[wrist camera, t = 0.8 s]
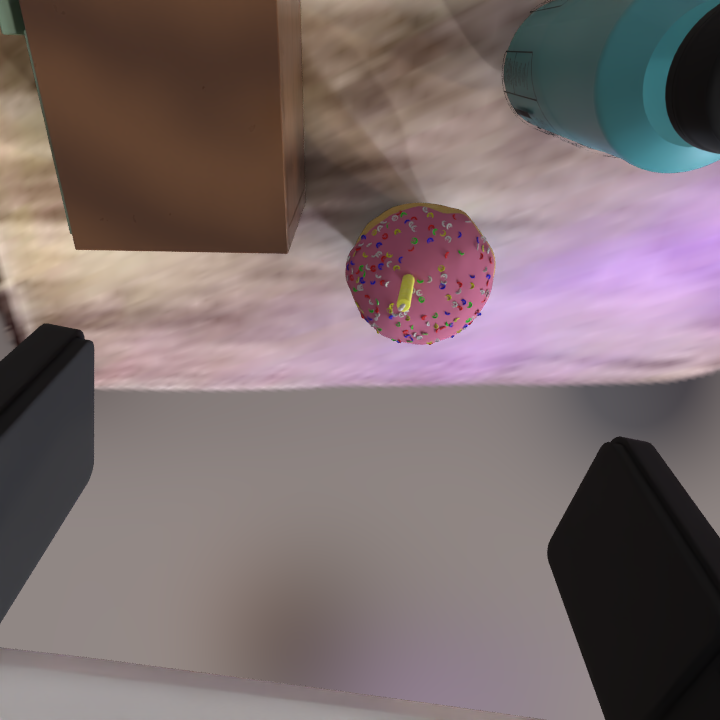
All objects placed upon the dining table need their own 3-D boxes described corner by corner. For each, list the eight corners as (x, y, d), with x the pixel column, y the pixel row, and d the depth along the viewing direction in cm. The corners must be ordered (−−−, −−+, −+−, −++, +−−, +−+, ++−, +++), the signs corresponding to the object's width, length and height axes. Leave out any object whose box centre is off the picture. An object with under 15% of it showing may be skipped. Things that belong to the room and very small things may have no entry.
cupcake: (324, 268, 38) (309, 354, 27) (399, 156, 34) (415, 205, 24) (427, 333, 40) (451, 435, 30) (507, 234, 37) (567, 310, 26)
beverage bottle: (477, 111, 33) (608, 184, 16) (518, -22, 30) (741, -119, 12) (582, 139, 34) (820, 238, 16) (632, 11, 31) (994, -36, 13)
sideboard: (72, -186, 27) (-66, -298, 18) (295, -181, 27) (264, -290, 18) (137, 199, 36) (64, 249, 27) (305, 203, 36) (288, 254, 27)
